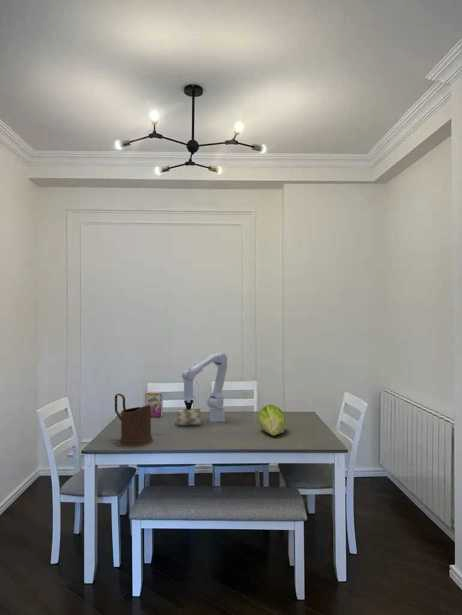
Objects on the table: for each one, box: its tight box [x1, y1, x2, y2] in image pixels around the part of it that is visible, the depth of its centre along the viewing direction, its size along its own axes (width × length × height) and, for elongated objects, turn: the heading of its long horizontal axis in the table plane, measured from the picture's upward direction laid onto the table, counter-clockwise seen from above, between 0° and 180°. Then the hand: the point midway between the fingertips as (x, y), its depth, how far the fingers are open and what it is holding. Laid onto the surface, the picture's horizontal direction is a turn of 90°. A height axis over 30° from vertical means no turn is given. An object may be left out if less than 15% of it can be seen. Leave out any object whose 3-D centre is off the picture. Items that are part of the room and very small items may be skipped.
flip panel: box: [176, 408, 201, 426], centre depth 293 cm, size 14×1×12 cm
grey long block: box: [174, 420, 204, 426], centre depth 296 cm, size 17×2×3 cm, turn 96°
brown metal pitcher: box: [114, 393, 154, 447], centre depth 264 cm, size 18×24×25 cm
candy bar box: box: [144, 391, 164, 418], centre depth 324 cm, size 11×5×16 cm, turn 84°
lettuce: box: [257, 404, 287, 436], centre depth 279 cm, size 15×25×16 cm
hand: (188, 412), depth 293 cm, fingers closed
